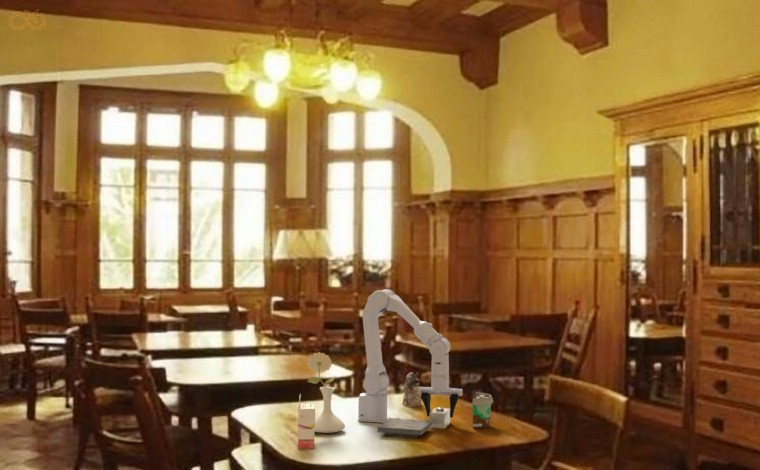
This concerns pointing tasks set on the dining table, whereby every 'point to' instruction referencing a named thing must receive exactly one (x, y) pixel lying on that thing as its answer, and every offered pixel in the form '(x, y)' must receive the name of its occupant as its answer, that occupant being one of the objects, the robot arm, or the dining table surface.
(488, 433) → the dining table surface
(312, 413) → the juice box
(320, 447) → the dining table surface
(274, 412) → the dining table surface
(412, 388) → the figurine
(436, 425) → the block
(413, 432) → the stand
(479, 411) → the food container
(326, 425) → the flower in vase
